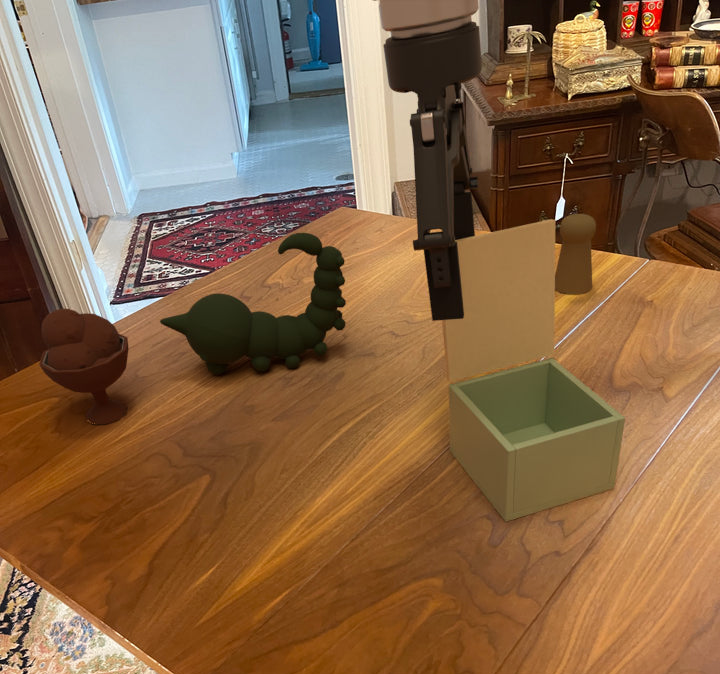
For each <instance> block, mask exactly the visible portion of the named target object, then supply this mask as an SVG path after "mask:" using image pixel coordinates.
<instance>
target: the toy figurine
mask: <svg viewBox="0 0 720 674" xmlns="http://www.w3.org/2000/svg"><path fill="white" fill-rule="evenodd" d="M289 250H299V251H301V252H303V253H305V254H307V255H309V256H313V257H315V262H316V268H315V270H314V271H313V277H312V278H313V283H314V286H313V287H312V289H311V291H310V302H309V303H308V304H307V306H306V308H305V310H304V312H301V313H299V314H297V316H294V315H289V314H286V315H285V314H284V315H280V316H278V317H276V316H275V315H274V314H272V313H270V312H267V311H262V310H261V311H259V310H258V311H253V312H252V310H250V308H249V307H248V306H247V304H245V303H244V302H243V300H240V299H239V298H237V297H236V296H233V295H230V294H226V293H221V292H220V293H218V292H217V293H216V292H215V293H211V294H208V295H205V296H203V297H201V298H200V299H198V300H197V301H195V302H194V303H193V304H192V306H191V307H190V308H189V310H188V311H187V312H185V313H181V314H177V315H172V316H167V317H164V318H161V319H160V320H159V323H160V324H161V325H162V326H164V327H167V328H169V329H170V330H172V331H176V332H178V333H179V334H181V335H183V336H185V338H186V340H187V343H188V345H189V346H190V348H191V349H192V350H193V352H194V353H195V354H196V355H197V356H198V357H199V358H200V360H202V361H203V362H205V366H206V369H207V370H208V372H209V373H210V374H212V375H216V376H219V375H222V374H224V373H225V372H226V371H227V370H228V369H229V364H231V363H235V362H237V361H239V360H241V359H242V358H244V357H246V358H247V359H250V361H251V364H252V367H253V370H256V371H257V372H264V371H266V370H268V369H269V368H270V366H271V360H272V359H273V358H275V357H276V358H278V359H280V360H285V363H284V364H285V365H286V366H287V367H288V368H289V369H296V368H297V367H299V366H300V363H301V362H300V361H301V358H300V357H301V356H303V354H304V353H306V351H307V350H312V351H313V353H314V354H315V356H318V357H322V356H325V355H326V354H327V352H328V350H329V349H328V346H327V344H326V342H324V340H325V339H326V337H327V333H328V332H329V331H332V329H333V328H334V329H335V330H336V331H343V330H344V329H345V328H346V321H345V319H344V318H343V312H342V311H341V310H339V309H342V308H344V307H345V306H346V305H347V301H346V299H345V298H344V297H343V290H342V289H341V288H340V287H341V286H344V285H345V283H346V278H345V276H344V274H343V271H342V267H343V266H344V265H345V261H346V260H345V258H344V256H343V253H342V251H341V250H340V249H338V248H337V247H336V246H332V245H325V246H324V247H323V243H322V241H321V239H320V238H319V237H318V236H317V235H314V234H312V233H308V232H296V233H293V234H290V235H288V236H287V237H286V238H284V239H283V240H282V242H281V243H280V244H279V246H278V248H277V253H278V254H279V255H284V253H286V252H287V251H289ZM338 308H339V309H338Z"/></svg>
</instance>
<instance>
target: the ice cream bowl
mask: <svg viewBox="0 0 720 674" xmlns="http://www.w3.org/2000/svg"><path fill="white" fill-rule="evenodd" d="M41 337H42V341H43V342H44V345H45V346H46V347H47V348H46V349H45V350H44V351H42V354H41V357H40V360H39V364H38V365H39V368H41V370H42V371H43V373H44V374H45V375H46V376H47V377H48V378H50V380H52V381H53V383H56V384H57V385H59V386H61V387H63V388H64V389H67V390H69V391H72V392H74V393H81V394H88V393H90V394H91V395H92V396H93V400H94V402H95V404H94V405H92V406H91V407H90V408H89V409H88V410H86V415H85V420H86V419H87V420H89V421H90V422H91V423H93V424H94V423H95V424H107V423H109V424H111V423H110V422H112V423H114V422H113V421H115V422H117V421H116V420H118V419H119V420H121V419H122V418H123V417H124V416H126V415H127V414H126V408H127V409H128V406H127V405H126V403H124V402H122V400H121V401H120V400H118V399H110V398H109V395H108V393H107V389H108V388H109V387H111V386H112V385H113V384H114V383H115V382H116V381H118V380H119V379H120V378H121V377H122V375H123V374H124V372H125V370H126V369H127V363H128V356H129V349H130V348H129V339H128V336H125V335H123V334H121V333H119V331H118V330H117V328H116V326H115V325H114V324H113V323H112V322H111V321H110V320H109V319H106V318H104V317H102V316H100V315H98V314H96V313H88V312H87V313H79V312H78V311H76V310H74V309H70V308H58V309H55V310H53V311H51V312H50V313H48V314H47V315H46V316H45V317H44V319H43V320H42V322H41ZM125 414H126V415H125ZM123 415H124V416H123ZM122 416H123V417H122ZM121 417H122V418H121ZM120 418H121V419H120ZM119 420H118V421H119ZM107 425H108V424H107Z"/></svg>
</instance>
